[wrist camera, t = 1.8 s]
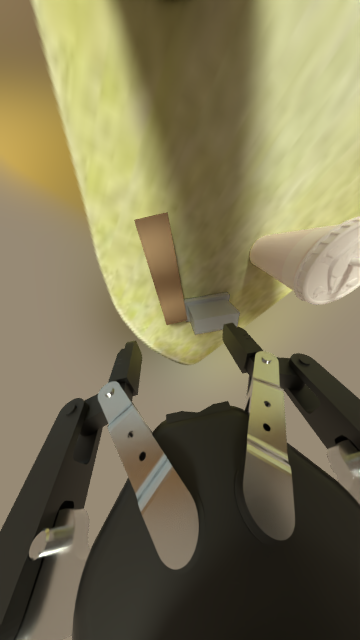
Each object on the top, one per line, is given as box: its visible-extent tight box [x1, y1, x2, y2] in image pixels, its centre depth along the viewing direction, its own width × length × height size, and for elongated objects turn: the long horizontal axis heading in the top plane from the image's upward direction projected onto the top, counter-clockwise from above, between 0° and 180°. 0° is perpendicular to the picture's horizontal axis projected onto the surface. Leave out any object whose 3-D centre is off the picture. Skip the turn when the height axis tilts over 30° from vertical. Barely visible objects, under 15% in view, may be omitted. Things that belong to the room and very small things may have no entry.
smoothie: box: [249, 217, 360, 305], centre depth 12 cm, size 6×6×14 cm
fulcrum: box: [184, 292, 240, 335], centre depth 19 cm, size 4×7×5 cm, turn 96°
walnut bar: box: [134, 212, 187, 325], centre depth 16 cm, size 12×3×4 cm, turn 10°
